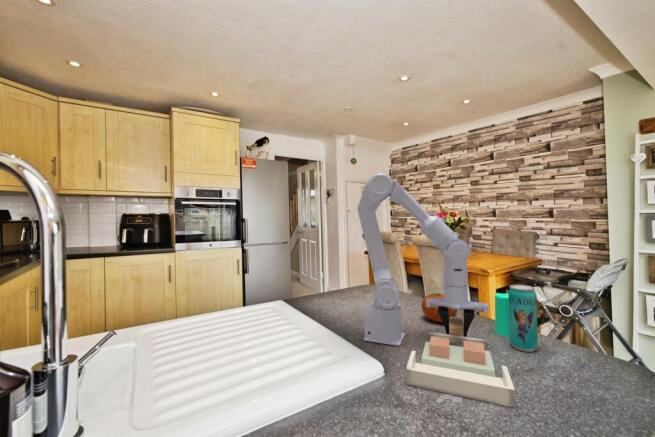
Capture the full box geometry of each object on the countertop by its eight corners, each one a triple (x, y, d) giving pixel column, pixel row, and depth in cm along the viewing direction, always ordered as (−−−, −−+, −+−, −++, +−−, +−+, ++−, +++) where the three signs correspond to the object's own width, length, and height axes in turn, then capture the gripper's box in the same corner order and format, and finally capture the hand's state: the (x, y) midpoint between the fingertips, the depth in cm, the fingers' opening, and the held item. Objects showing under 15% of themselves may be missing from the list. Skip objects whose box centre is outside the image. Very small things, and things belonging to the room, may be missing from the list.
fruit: (464, 325, 86) (464, 298, 86) (432, 327, 85) (432, 300, 85) (444, 313, 97) (444, 290, 97) (415, 315, 95) (415, 291, 95)
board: (421, 365, 63) (421, 358, 63) (425, 347, 72) (425, 341, 72) (495, 379, 57) (495, 371, 57) (490, 358, 66) (489, 351, 66)
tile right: (464, 361, 61) (464, 349, 61) (463, 351, 66) (463, 340, 66) (485, 365, 60) (485, 353, 60) (483, 354, 64) (483, 343, 64)
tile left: (429, 355, 64) (429, 344, 64) (431, 346, 69) (431, 336, 69) (448, 359, 63) (448, 347, 63) (449, 349, 67) (449, 338, 67)
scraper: (428, 346, 73) (428, 324, 73) (430, 334, 80) (430, 314, 80) (486, 355, 67) (486, 331, 67) (483, 341, 75) (483, 320, 75)
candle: (524, 338, 76) (524, 293, 76) (499, 336, 78) (499, 292, 78) (514, 329, 82) (514, 287, 82) (491, 328, 83) (491, 287, 84)
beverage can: (511, 350, 70) (510, 288, 70) (507, 341, 75) (506, 283, 75) (540, 355, 67) (539, 290, 67) (534, 345, 72) (533, 285, 72)
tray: (406, 384, 56) (405, 368, 56) (412, 364, 64) (412, 350, 64) (515, 407, 49) (514, 390, 49) (506, 381, 56) (506, 366, 56)
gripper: (424, 285, 74) (425, 338, 74) (489, 290, 68) (490, 348, 68) (427, 280, 80) (427, 329, 80) (486, 284, 74) (487, 337, 74)
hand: (456, 337), depth 74 cm, fingers closed on scraper, 3 cm apart
